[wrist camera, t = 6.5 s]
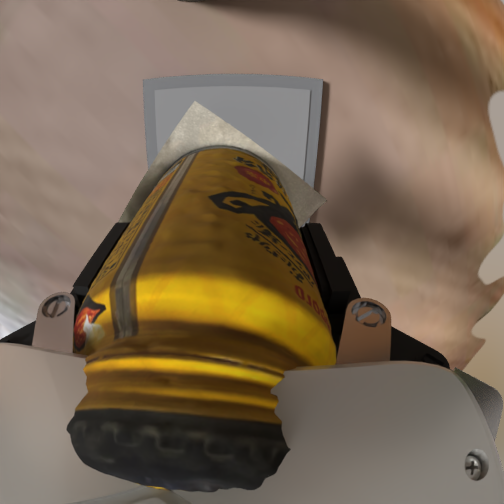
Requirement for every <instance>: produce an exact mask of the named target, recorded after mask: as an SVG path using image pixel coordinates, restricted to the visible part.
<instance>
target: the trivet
mask: <svg viewBox="0 0 504 504" xmlns="http://www.w3.org/2000/svg"><path fill="white" fill-rule="evenodd" d="M322 87H323V79H315V78H305V77H295V76H281V75H262V74H205V75H187V76H173V77H163V78H153V79H145V80H143V98H144V120H145V136H146V150H147V161H148V169H149V168H150V166H151V164H152V163H153V161H154V160H155V158H156V157H157V155H158V153H159V152H160V150H161V149H162V147H163V146H164V144H165V143H166V141H167V140H168V138H169V137H170V135H171V134H172V132H173V131H174V129H175V128H176V126H177V125H178V123H179V122H180V121H181V119H182V118H183V116H184V115H185V113H186V112H187V111H188V109H189V108H190V106H191V105H192V104H193V102H194V101H196V102H198V103H199V104H200V105H202V106H203V107H205V108H206V109H208V110H209V111H211V112H212V113H214V114H215V115H217V116H218V117H220V118H221V119H222V120H224V121H225V122H227V123H229V124H230V125H231V126H233V127H234V128H236V129H237V130H238V131H240V132H241V133H243V134H244V135H245V136H247V137H248V138H249V139H251V140H252V141H254V142H255V143H256V144H258V145H259V146H260V147H262V148H263V149H264V150H266V151H267V152H268V153H270V154H271V155H272V156H274V157H275V158H276V159H277V160H279V161H280V162H281V163H282V164H284V165H285V166H286V167H288V168H289V169H290V170H291V171H293V172H294V173H295V174H296V175H297V176H299V177H300V178H301V179H302V180H304V181H305V182H306V183H308V184H309V185H310V186H311V187H312V188H314V179H315V169H316V160H317V149H318V139H319V127H320V115H321V102H322ZM309 221H310V218H309V219H308V220H307V221H306V222H305V223H309ZM305 223H304V224H303V225H302V226H301V227H304V226H305ZM299 229H300V228H299Z"/></svg>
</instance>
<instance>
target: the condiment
mask: <svg viewBox="0 0 504 504" xmlns="http://www.w3.org/2000/svg"><path fill="white" fill-rule="evenodd" d="M326 201H327V200H326V199H325V198H324V197H323V196H322V195H320V194H319V193H318V192H317V191H316V190H314V189H313V188H312V187H311V186H310V185H309V184H308V183H306V182H305V181H304V180H302V179H301V178H300V177H299V176H297V175H296V174H295V173H294V172H293V171H291V170H290V169H289V168H288V167H286V166H285V165H284V164H282V163H281V162H280V161H279V160H277V159H276V158H275V157H274V156H272V155H271V154H270V153H268V152H267V151H266V150H264V149H263V148H262V147H260V146H259V145H258V144H256V143H255V142H254V141H252V140H251V139H249V138H248V137H247V136H245V135H244V134H243V133H241V132H240V131H238V130H237V129H236V128H234V127H233V126H231V125H230V124H229V123H227V122H225V121H224V120H222V119H221V118H220V117H218V116H217V115H215V114H214V113H212V112H211V111H209V110H208V109H206V108H205V107H203V106H202V105H200V104H199V103H198V102H196V101H194V102H193V104H192V105H191V106H190V108H189V109H188V111H187V112H186V113H185V115H184V116H183V118H182V119H181V121H180V122H179V123H178V125H177V126H176V128H175V129H174V131H173V132H172V134H171V135H170V137H169V138H168V140H167V141H166V143H165V144H164V146H163V147H162V149H161V150H160V152H159V153H158V155H157V157H156V158H155V160H154V161H153V163H152V164H151V166H150V168H149V169H148V171H147V173H146V174H145V176H144V177H143V179H142V181H141V182H140V184H139V186H138V187H137V189H136V191H135V192H134V194H133V196H132V198H131V200H130V201H129V203H128V205H127V207H126V208H125V210H124V212H123V214H122V216H121V218H120V220H119V222H118V223H120V222H130V224H129V226H128V228H127V229H126V231H125V232H124V233H123V235H122V237H121V238H120V240H119V241H118V243H117V245H116V247H115V248H114V249H113V251H112V253H111V254H110V256H109V257H108V259H107V260H106V261H105V264H104V265H103V267H102V269H101V270H100V272H99V274H98V275H97V277H96V279H95V280H94V281H93V283H92V284H91V287H90V289H89V292H88V293H87V295H86V297H85V299H84V301H83V303H82V305H81V308H80V310H79V312H78V314H77V318H76V323H75V325H74V329H73V350H74V353H75V354H81V355H87V357H86V359H85V361H86V365H85V367H84V368H83V370H84V373H85V374H86V376H87V379H86V386H87V390H88V393H87V394H86V395H85V397H84V398H83V399H82V400H81V402H80V403H79V404H78V405H77V407H76V408H75V413H74V416H73V418H72V419H71V420H70V422H69V423H68V425H67V429H66V430H67V432H68V433H69V434H70V438H71V443H72V445H73V448H74V450H75V452H76V454H77V455H78V457H79V458H80V460H81V461H82V462H83V463H84V464H85V465H87V466H89V467H91V468H93V469H95V470H97V471H99V472H101V473H104V474H107V475H111V476H114V477H117V478H120V479H124V480H127V481H130V482H133V483H136V484H139V485H144V486H146V487H151V488H156V489H162V490H169V491H172V490H182V491H188V492H195V491H200V492H216V491H217V490H218V489H224V490H228V489H231V488H242V489H245V490H256V489H257V488H259V487H260V486H261V485H262V483H263V481H264V480H265V478H268V477H270V476H272V475H274V474H276V472H277V470H278V467H279V466H280V464H281V463H282V461H283V459H284V458H285V456H286V454H287V453H288V452H289V451H290V450H291V449H290V448H288V446H287V444H286V441H285V438H284V436H283V433H282V421H281V420H280V419H279V417H278V416H277V415H276V414H275V413H274V412H275V407H276V406H277V404H278V402H279V400H278V397H277V396H276V395H274V394H271V389H272V388H273V387H274V386H276V385H277V383H278V382H280V381H281V380H282V379H283V378H285V376H284V374H283V373H284V371H288V370H292V369H295V368H296V367H303V366H323V365H335V363H336V345H335V343H334V341H333V338H332V334H331V325H330V322H329V319H328V315H327V313H326V310H325V308H324V305H323V303H322V299H321V296H320V293H319V289H318V285H317V283H316V280H315V278H314V274H313V270H312V268H311V264H310V261H309V258H308V255H307V252H306V248H305V246H304V243H303V240H302V235H301V232H300V229H299V228H300V227H301V226H302V225H303V224H304V223H305V222H306V221H307V220H308V219H309V218H310V216H311V215H312V214H313V213H314V212H315V211H316V210H317V209H318V208H319V207H320V206H321V205H322V204H324V203H325V202H326Z"/></svg>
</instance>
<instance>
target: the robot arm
mask: <svg viewBox="0 0 504 504" xmlns="http://www.w3.org/2000/svg"><path fill="white" fill-rule="evenodd" d="M129 224H130V222H120V223H116V224H115V225H114V226H113V228H112V229H111V231H110V232H109V233H108V235H107V236H106V237H105V239H104V240H103V242H102V243H101V244H100V246H99V247H98V249H97V250H96V252H95V253H94V254H93V256H92V257H91V259H90V260H89V262H88V263H87V265H86V266H85V268H84V269H83V271H82V272H81V274H80V275H79V277H78V279H77V280H76V282H75V283H74V285H73V287H74V288H73V290H72V292H71V293H67V292H58V293H55V294H52V295H50V296H49V297H47V298H46V299H45V300H44V301H43V302H42V303H41V304H40V306H39V309H38V313H37V318H36V321H34V322H32V323H30V324H28V325H26V326H24V327H23V328H21V329H19V330H17V331H15V332H13V333H11V334H10V335H8V336H6V337H4V338H2V339H1V340H0V504H504V471H503V468H502V464H501V461H500V458H499V454H498V451H497V448H496V445H495V442H494V441H495V438H496V434H497V430H498V426H499V422H500V418H501V413H502V409H503V401H502V397H501V395H500V394H499V392H498V391H497V390H496V389H495V388H493V387H491V386H489V385H487V384H486V383H484V382H482V381H480V380H478V379H476V378H474V377H472V376H470V375H469V374H466V373H465V372H463V371H461V370H459V369H457V368H454V369H453V370H451V369H450V367H449V363H448V361H447V359H446V358H445V357H444V356H443V355H442V354H441V353H439V352H438V351H436V350H434V349H433V348H431V347H429V346H427V345H425V344H423V343H421V342H420V341H418V340H416V339H414V338H412V337H410V336H408V335H406V334H405V333H403V332H401V331H399V330H397V329H395V328H393V327H392V326H391V315H390V312H389V310H388V309H387V308H386V307H385V306H384V305H383V304H382V303H380V302H378V301H376V300H373V299H369V298H361V297H360V295H359V293H358V290H357V288H356V286H355V284H354V281H353V279H352V277H351V275H350V273H349V270H348V268H347V266H346V264H345V262H344V260H343V258H342V257H336V256H335V254H334V251H333V249H332V247H331V245H330V243H329V241H328V238H327V236H326V234H325V232H324V230H323V228H322V226H321V224H320V223H305V226H304V227H300V232H301V235H302V240H303V243H304V246H305V248H306V252H307V255H308V258H309V261H310V264H311V268H312V270H313V274H314V278H315V280H316V283H317V285H318V289H319V293H320V296H321V299H322V303H323V305H324V308H325V310H326V313H327V315H328V319H329V322H330V325H331V334H332V338H333V341H334V343H335V345H336V363H335V365H323V366H303V367H296V368H295V369H292V370H288V371H284V373H283V374H284V376H285V378H283V379H282V380H281V381H280V382H278V383H277V385H276V386H274V387H273V388H272V389H271V394H274V395H276V396H277V397H278V400H279V402H278V404H277V406H276V407H275V412H274V413H275V414H276V415H277V416H278V417H279V419H280V420H281V421H282V433H283V436H284V438H285V441H286V444H287V446H288V448H290V449H291V450H290V451H289V452H288V453H287V454H286V456H285V458H284V459H283V461H282V463H281V464H280V466H279V467H278V470H277V472H276V474H274V475H272V476H270V477H268V478H265V480H264V481H263V483H262V485H261V486H260V487H259V488H257V489H256V490H245V489H242V488H231V489H228V490H224V489H218V490H217V491H216V492H200V491H195V492H188V491H182V490H172V491H169V490H162V489H156V488H151V487H146V486H144V485H139V484H136V483H133V482H130V481H127V480H124V479H120V478H117V477H114V476H111V475H107V474H104V473H101V472H99V471H97V470H95V469H93V468H91V467H89V466H87V465H85V464H84V463H83V462H82V461H81V460H80V458H79V457H78V455H77V454H76V452H75V450H74V448H73V445H72V443H71V438H70V434H69V433H68V432H67V430H66V429H67V425H68V423H69V422H70V420H71V419H72V418H73V416H74V413H75V408H76V407H77V405H78V404H79V403H80V402H81V400H82V399H83V398H84V397H85V395H86V394H87V393H88V390H87V386H86V379H87V376H86V374H85V373H84V370H83V368H84V367H85V365H86V361H85V359H86V357H87V355H81V354H75V353H74V350H73V329H74V325H75V323H76V318H77V314H78V312H79V310H80V308H81V305H82V303H83V301H84V299H85V297H86V295H87V293H88V292H89V289H90V287H91V284H92V283H93V281H94V280H95V279H96V277H97V275H98V274H99V272H100V270H101V269H102V267H103V265H104V264H105V261H106V260H107V259H108V257H109V256H110V254H111V253H112V251H113V249H114V248H115V247H116V245H117V243H118V241H119V240H120V238H121V237H122V235H123V233H124V232H125V231H126V229H127V228H128V226H129Z"/></svg>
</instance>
